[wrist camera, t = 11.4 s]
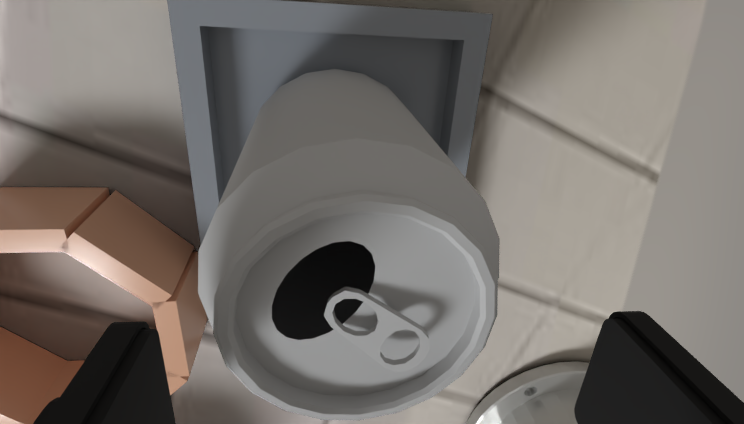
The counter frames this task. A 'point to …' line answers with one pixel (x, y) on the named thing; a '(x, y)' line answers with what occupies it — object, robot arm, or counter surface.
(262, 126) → the can
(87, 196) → the terracotta ring
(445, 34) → the slate tray
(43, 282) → the counter surface
